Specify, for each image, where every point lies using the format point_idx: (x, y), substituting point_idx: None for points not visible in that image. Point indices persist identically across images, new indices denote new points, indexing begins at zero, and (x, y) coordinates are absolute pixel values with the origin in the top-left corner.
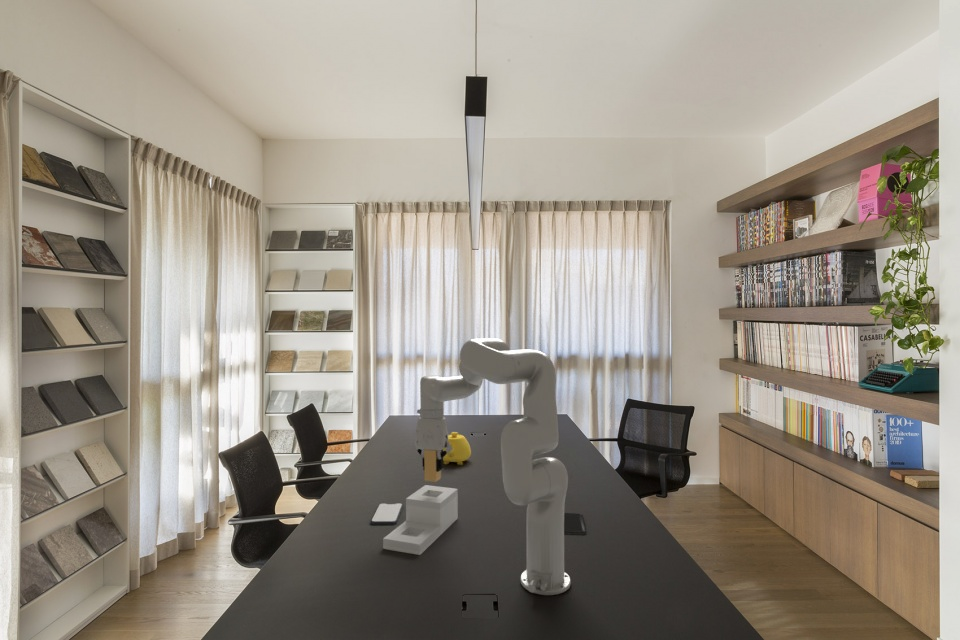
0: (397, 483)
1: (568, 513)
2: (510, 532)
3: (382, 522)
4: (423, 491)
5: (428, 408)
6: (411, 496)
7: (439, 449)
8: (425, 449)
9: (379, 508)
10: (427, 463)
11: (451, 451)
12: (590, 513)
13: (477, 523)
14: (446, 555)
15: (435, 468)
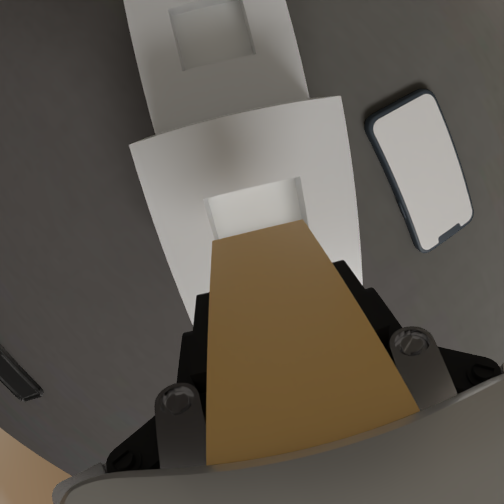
0: (476, 347)
1: (34, 397)
2: (31, 274)
3: (400, 101)
4: (323, 231)
5: None
6: (335, 137)
7: (98, 482)
8: (397, 422)
9: (461, 186)
10: (312, 299)
11: None
12: (26, 410)
13: (130, 276)
14: (63, 45)
15: (212, 295)
